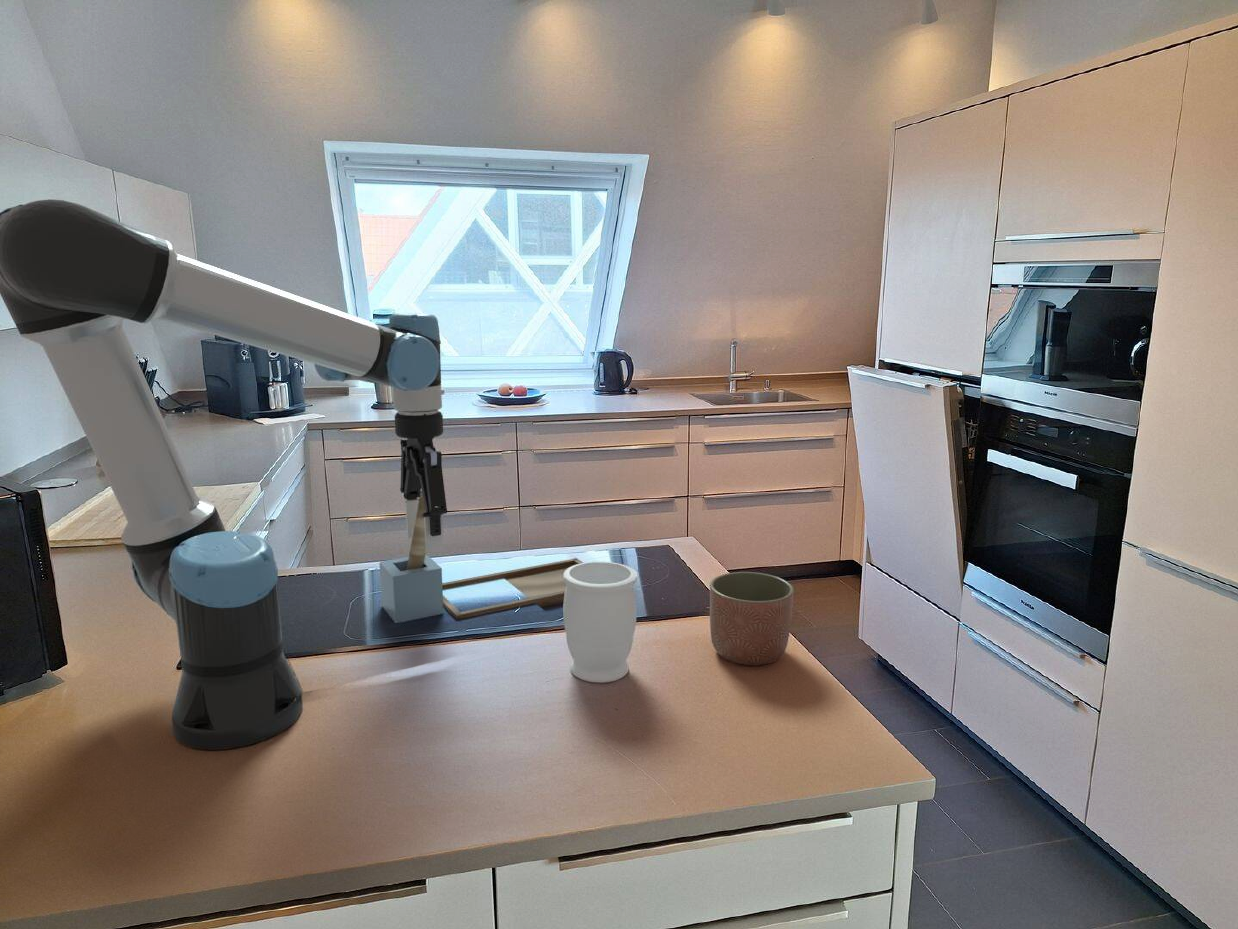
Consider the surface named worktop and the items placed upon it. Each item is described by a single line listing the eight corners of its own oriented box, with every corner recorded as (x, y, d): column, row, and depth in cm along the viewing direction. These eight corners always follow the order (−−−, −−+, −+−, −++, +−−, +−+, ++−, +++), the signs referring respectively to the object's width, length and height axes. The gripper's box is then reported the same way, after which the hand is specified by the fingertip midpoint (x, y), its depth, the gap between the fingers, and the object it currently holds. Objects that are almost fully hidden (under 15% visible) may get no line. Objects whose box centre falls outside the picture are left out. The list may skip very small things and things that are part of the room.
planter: (742, 680, 117) (745, 608, 114) (691, 646, 127) (693, 580, 124) (807, 660, 123) (811, 592, 120) (753, 630, 133) (756, 566, 131)
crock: (443, 619, 136) (441, 568, 134) (395, 629, 132) (392, 576, 130) (428, 603, 143) (426, 554, 141) (382, 612, 139) (379, 561, 137)
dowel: (443, 608, 138) (438, 493, 134) (401, 616, 135) (395, 499, 130) (437, 603, 141) (433, 490, 136) (397, 611, 137) (391, 495, 133)
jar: (650, 670, 119) (652, 572, 116) (600, 695, 112) (601, 592, 108) (598, 647, 126) (598, 555, 123) (548, 670, 119) (547, 572, 115)
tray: (615, 591, 149) (615, 582, 148) (456, 625, 134) (456, 615, 133) (576, 566, 161) (576, 558, 161) (427, 595, 146) (427, 586, 146)
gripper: (465, 419, 124) (470, 560, 129) (420, 400, 142) (425, 524, 147) (416, 423, 120) (423, 568, 125) (376, 403, 138) (383, 530, 143)
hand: (424, 544), depth 136 cm, fingers open, 9 cm apart
